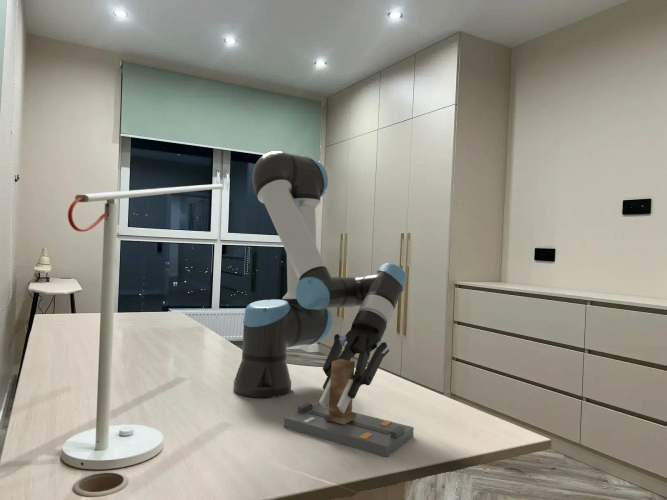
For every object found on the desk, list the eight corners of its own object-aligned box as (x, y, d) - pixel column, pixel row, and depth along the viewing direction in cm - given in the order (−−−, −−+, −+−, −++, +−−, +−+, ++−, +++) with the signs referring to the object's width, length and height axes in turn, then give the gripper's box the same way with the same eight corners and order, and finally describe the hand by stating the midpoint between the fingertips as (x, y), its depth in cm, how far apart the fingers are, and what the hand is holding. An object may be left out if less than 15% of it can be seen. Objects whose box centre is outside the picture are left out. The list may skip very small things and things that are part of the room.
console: (284, 426, 108) (284, 412, 108) (317, 411, 119) (318, 397, 119) (386, 457, 95) (387, 440, 95) (413, 436, 106) (414, 421, 106)
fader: (323, 419, 107) (327, 361, 107) (335, 413, 112) (339, 357, 111) (344, 424, 105) (347, 365, 105) (355, 418, 109) (359, 361, 109)
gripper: (409, 333, 117) (372, 426, 103) (346, 324, 125) (304, 407, 112) (401, 313, 112) (361, 406, 98) (336, 304, 121) (291, 389, 107)
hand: (331, 407), depth 105 cm, fingers closed on fader, 4 cm apart
